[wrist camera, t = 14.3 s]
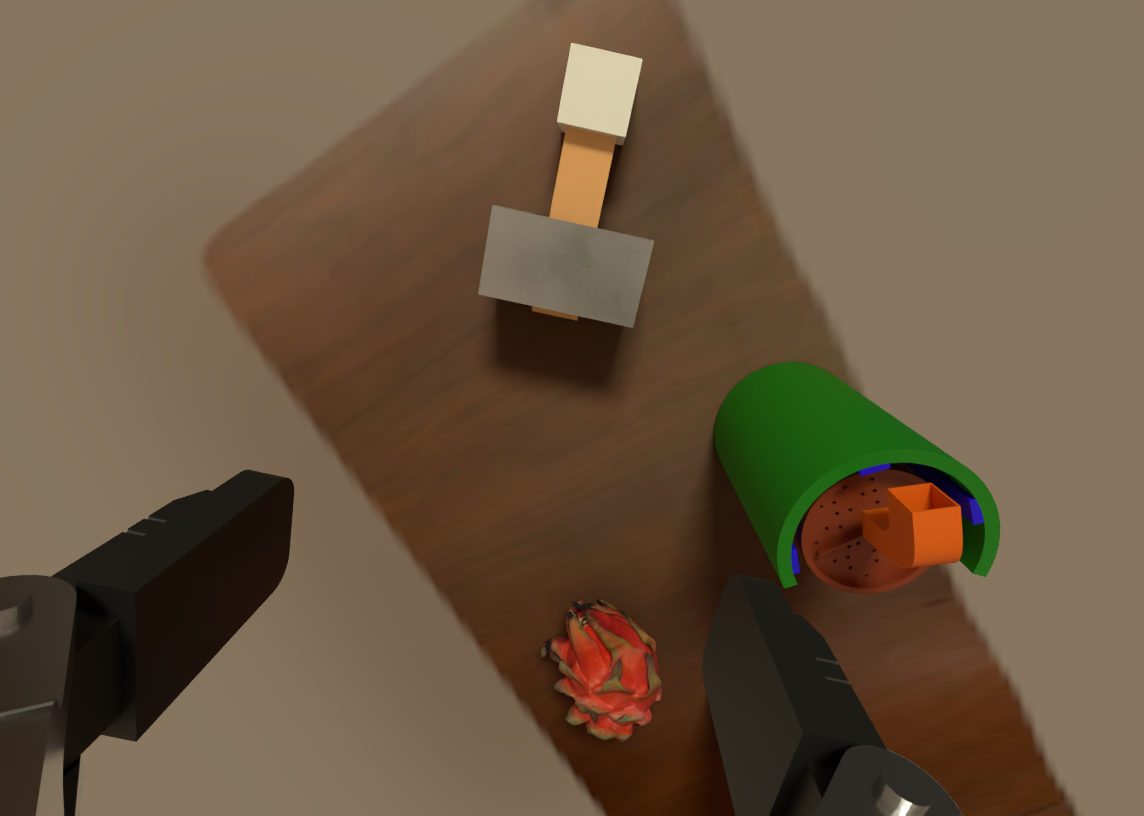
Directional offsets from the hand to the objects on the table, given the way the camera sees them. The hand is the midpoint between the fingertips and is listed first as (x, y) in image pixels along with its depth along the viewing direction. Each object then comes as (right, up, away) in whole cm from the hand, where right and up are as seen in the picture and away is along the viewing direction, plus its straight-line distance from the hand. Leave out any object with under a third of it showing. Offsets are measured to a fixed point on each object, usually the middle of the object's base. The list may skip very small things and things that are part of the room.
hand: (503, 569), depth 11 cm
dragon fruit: (+4, -16, +38) cm, 41 cm away
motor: (+16, +2, +32) cm, 36 cm away
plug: (+2, +17, +27) cm, 32 cm away
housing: (+1, +13, +29) cm, 31 cm away
